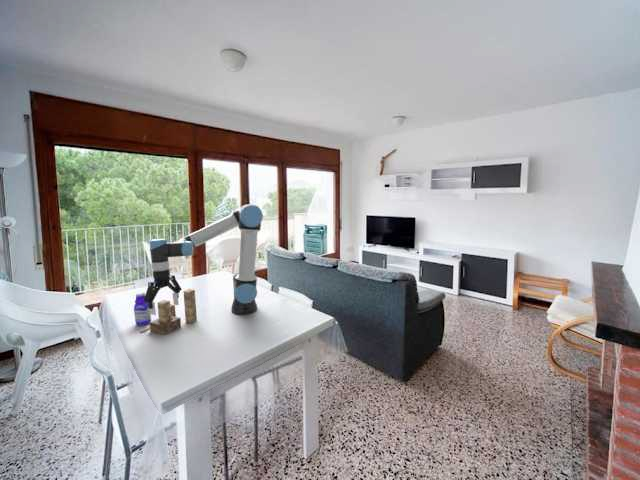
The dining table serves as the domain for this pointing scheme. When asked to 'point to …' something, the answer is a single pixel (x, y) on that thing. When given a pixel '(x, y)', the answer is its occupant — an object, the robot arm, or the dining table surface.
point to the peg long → (190, 306)
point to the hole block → (165, 326)
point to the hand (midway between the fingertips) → (165, 309)
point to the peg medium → (164, 311)
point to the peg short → (172, 310)
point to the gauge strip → (145, 330)
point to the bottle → (141, 310)
